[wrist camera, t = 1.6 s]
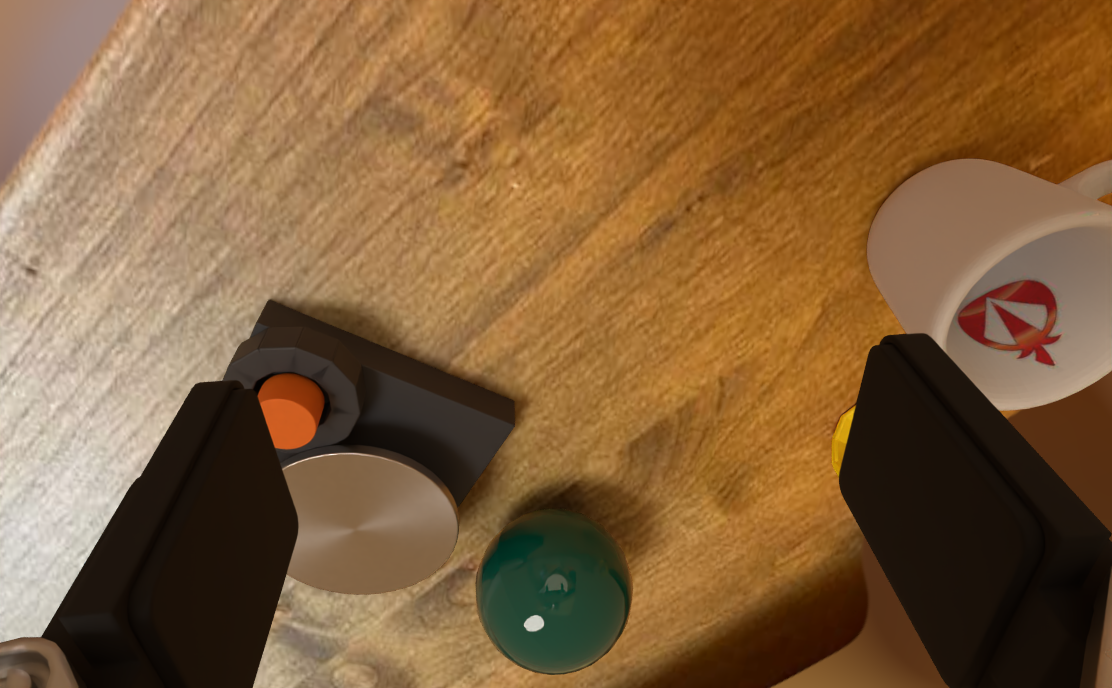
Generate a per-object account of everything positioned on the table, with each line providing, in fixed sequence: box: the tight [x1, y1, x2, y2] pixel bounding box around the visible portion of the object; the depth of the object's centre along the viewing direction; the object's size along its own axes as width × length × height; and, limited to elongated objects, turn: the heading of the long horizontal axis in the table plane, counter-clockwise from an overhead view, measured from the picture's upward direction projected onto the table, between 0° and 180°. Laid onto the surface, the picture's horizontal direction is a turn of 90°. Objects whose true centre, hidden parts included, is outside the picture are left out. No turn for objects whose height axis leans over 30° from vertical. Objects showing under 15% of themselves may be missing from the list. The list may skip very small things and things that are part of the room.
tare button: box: [258, 373, 325, 449], centre depth 29 cm, size 3×3×2 cm
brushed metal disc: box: [280, 445, 459, 595], centre depth 33 cm, size 9×9×1 cm
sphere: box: [476, 508, 633, 675], centre depth 37 cm, size 8×8×8 cm
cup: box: [867, 159, 1112, 410], centre depth 27 cm, size 11×8×8 cm
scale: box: [222, 300, 515, 508], centre depth 34 cm, size 12×13×4 cm
